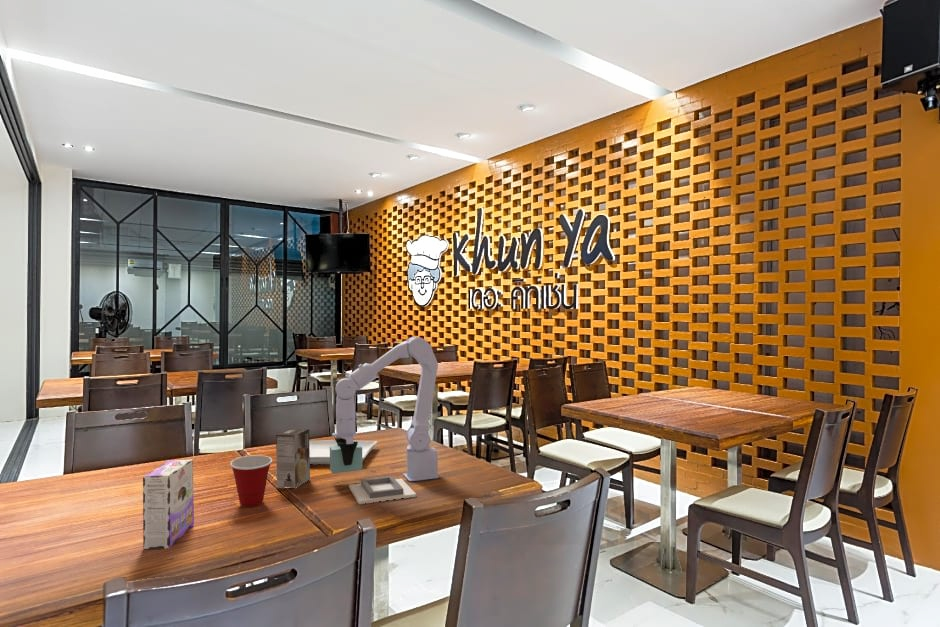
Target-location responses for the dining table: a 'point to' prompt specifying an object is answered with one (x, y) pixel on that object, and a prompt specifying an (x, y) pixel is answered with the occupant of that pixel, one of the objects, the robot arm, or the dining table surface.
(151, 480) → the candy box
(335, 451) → the teal block
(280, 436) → the coffee box
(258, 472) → the plastic cup
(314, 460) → the square plate
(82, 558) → the dining table surface
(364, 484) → the socket board
